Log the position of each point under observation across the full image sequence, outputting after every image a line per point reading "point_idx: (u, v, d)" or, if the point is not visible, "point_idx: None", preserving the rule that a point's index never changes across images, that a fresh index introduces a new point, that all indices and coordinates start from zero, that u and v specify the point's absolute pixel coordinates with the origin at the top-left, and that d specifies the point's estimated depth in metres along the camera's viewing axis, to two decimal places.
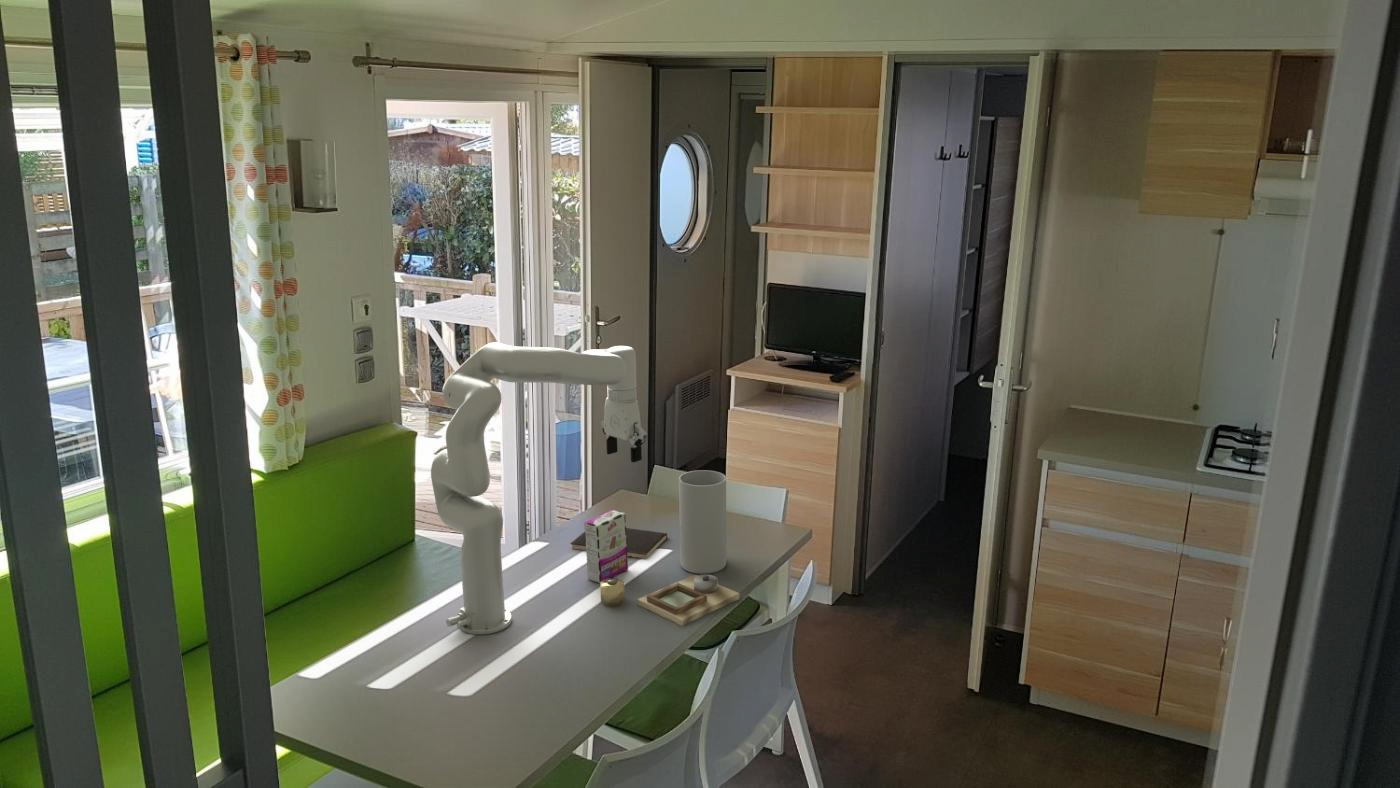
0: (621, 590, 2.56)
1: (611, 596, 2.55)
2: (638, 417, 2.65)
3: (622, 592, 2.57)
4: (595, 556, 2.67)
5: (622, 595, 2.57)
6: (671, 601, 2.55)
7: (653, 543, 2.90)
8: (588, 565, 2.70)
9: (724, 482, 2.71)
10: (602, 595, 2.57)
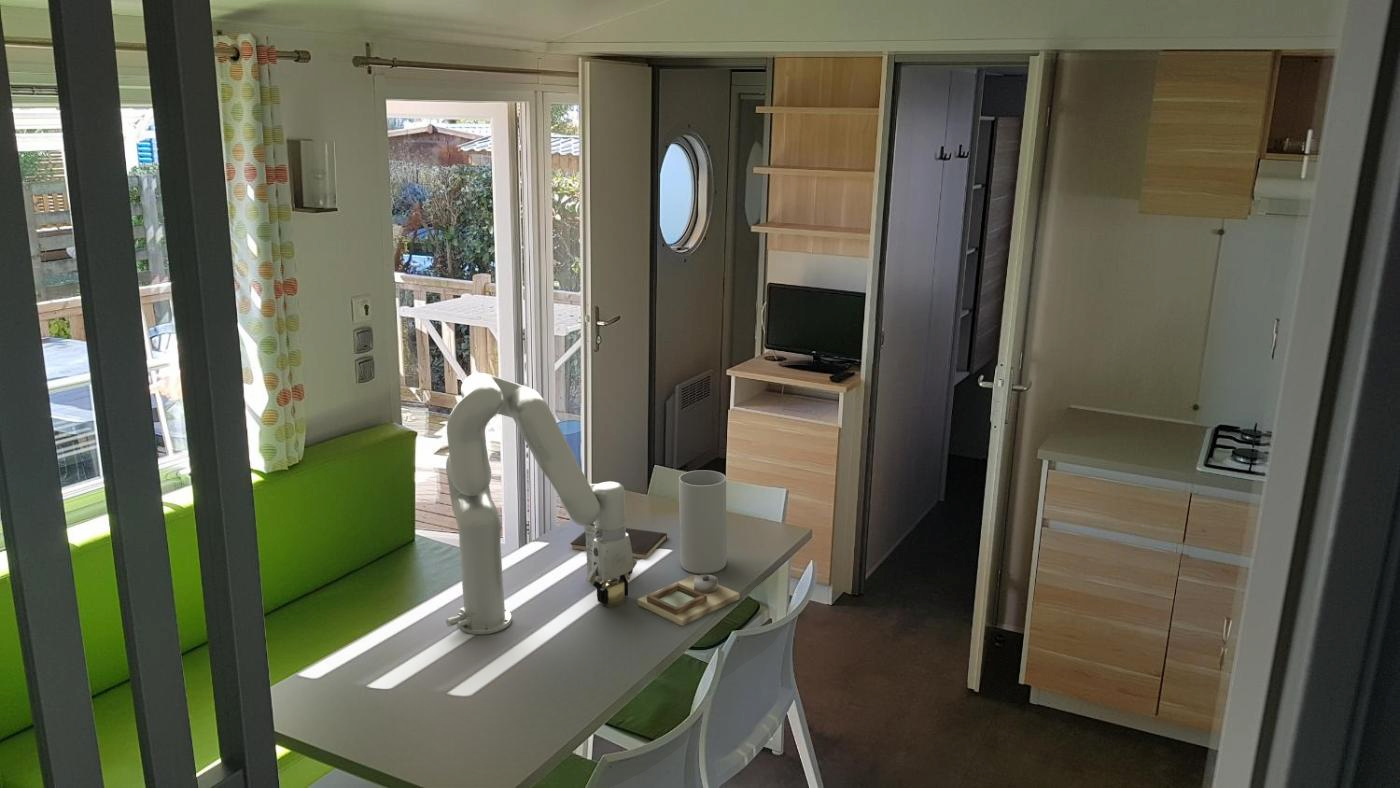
0: (621, 589, 2.56)
1: (611, 596, 2.55)
2: None
3: (622, 592, 2.57)
4: None
5: (622, 595, 2.57)
6: (671, 601, 2.55)
7: (653, 543, 2.90)
8: (588, 565, 2.70)
9: (724, 482, 2.71)
10: None
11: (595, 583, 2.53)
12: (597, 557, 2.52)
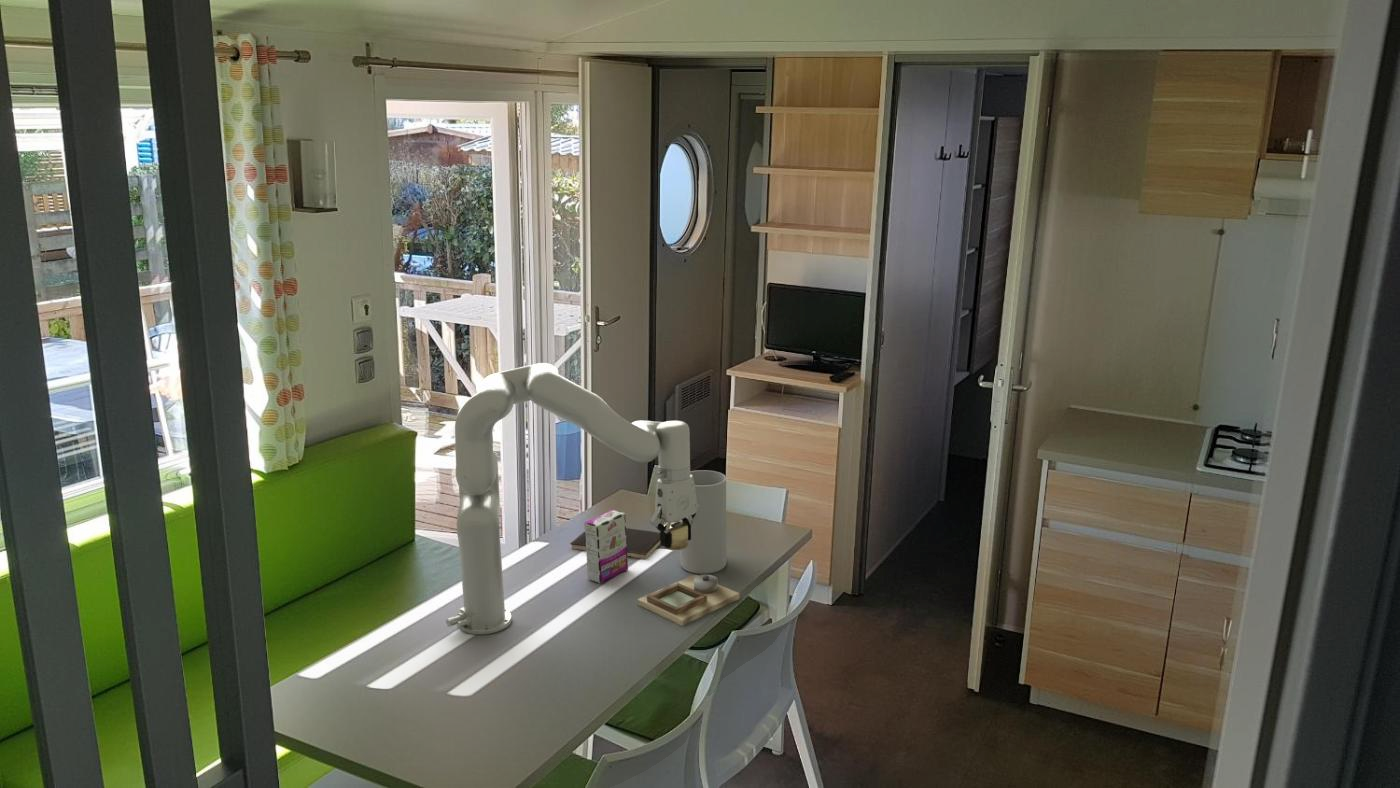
0: (685, 532, 2.49)
1: (675, 539, 2.48)
2: None
3: (686, 535, 2.49)
4: (595, 556, 2.67)
5: (686, 538, 2.49)
6: (671, 601, 2.55)
7: (653, 543, 2.90)
8: (588, 565, 2.70)
9: (724, 482, 2.71)
10: None
11: (659, 525, 2.45)
12: (661, 498, 2.44)
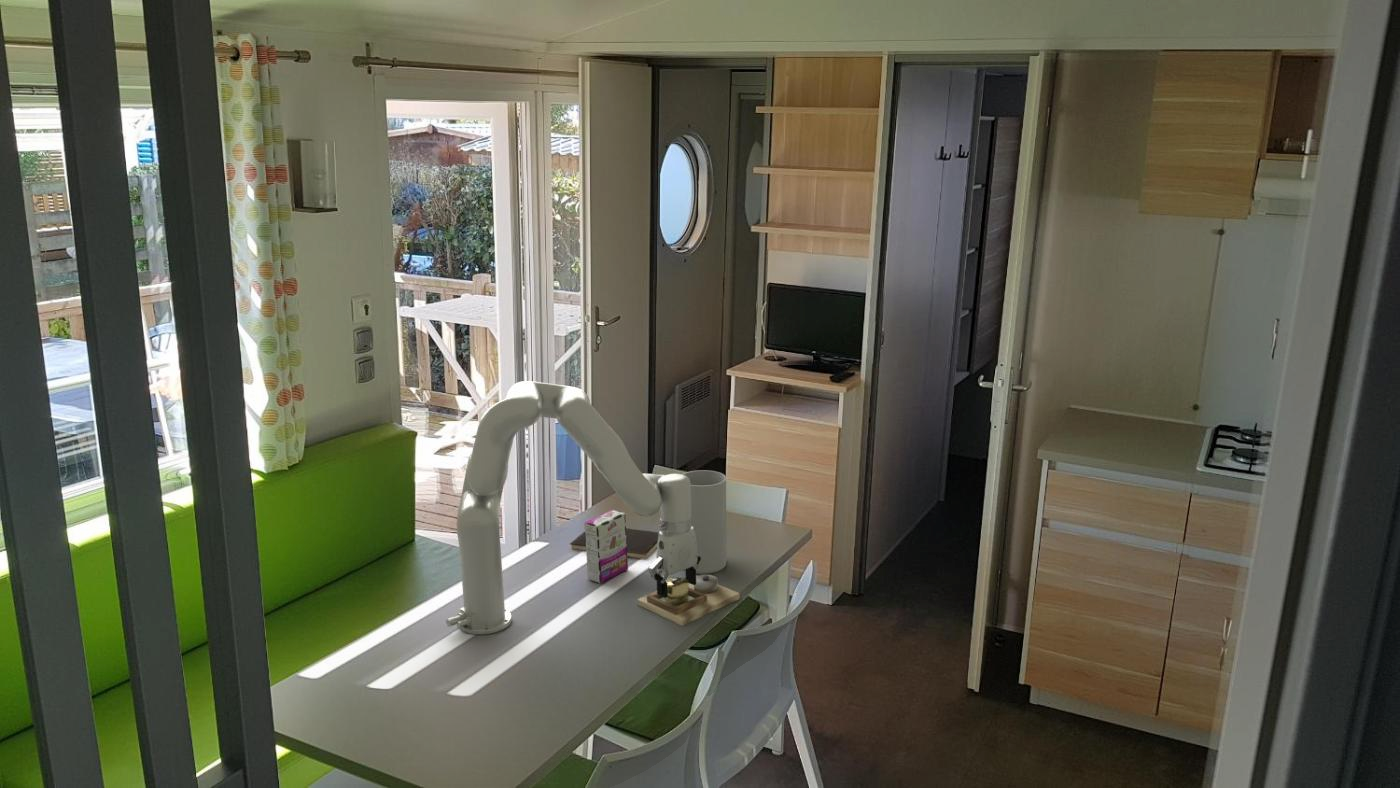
0: (686, 589, 2.52)
1: (676, 595, 2.51)
2: None
3: (686, 591, 2.53)
4: (595, 556, 2.67)
5: (686, 594, 2.53)
6: None
7: (653, 543, 2.90)
8: (588, 565, 2.70)
9: (724, 482, 2.71)
10: None
11: (656, 575, 2.47)
12: (663, 550, 2.47)
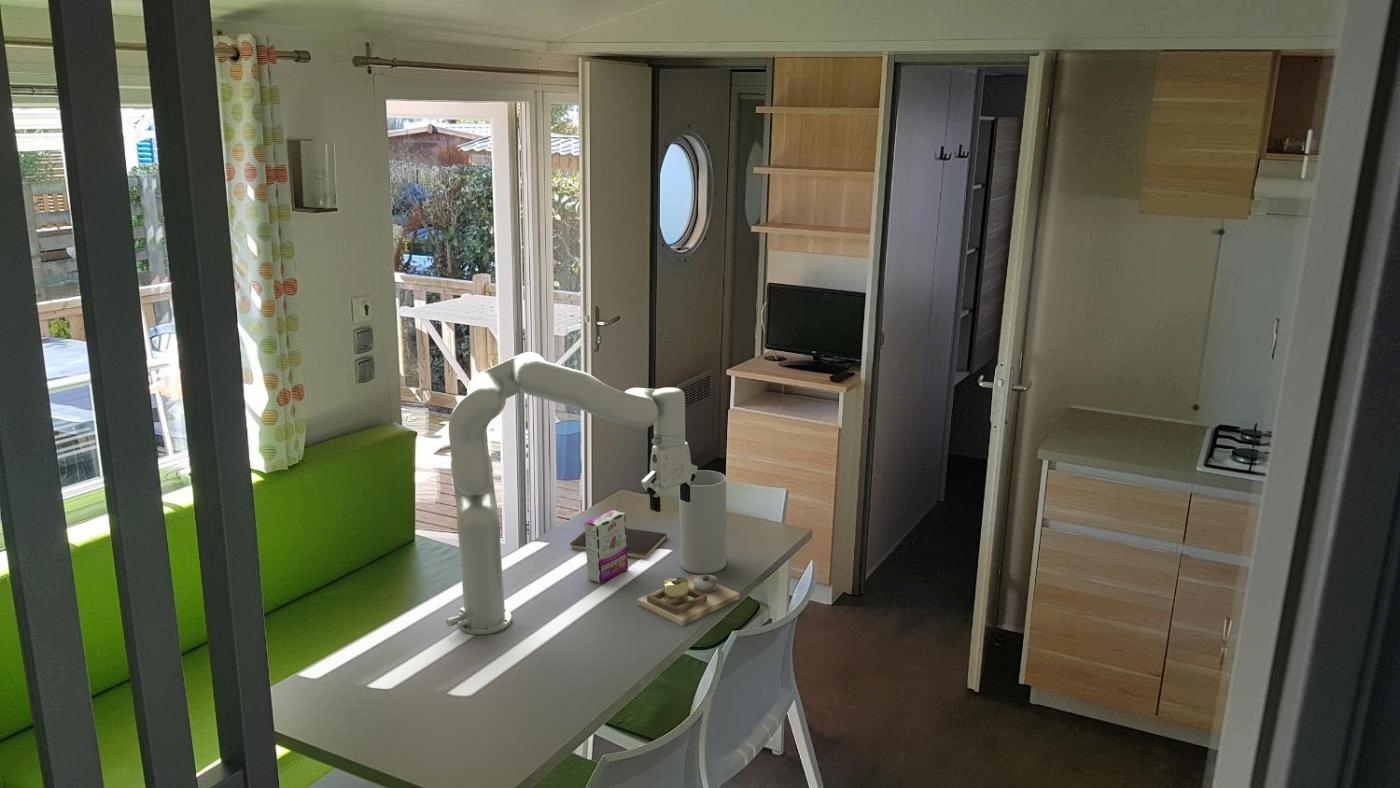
0: (686, 589, 2.52)
1: (676, 596, 2.51)
2: None
3: (686, 591, 2.53)
4: (595, 556, 2.67)
5: (686, 594, 2.53)
6: None
7: (652, 543, 2.90)
8: (588, 565, 2.70)
9: (724, 482, 2.71)
10: (666, 594, 2.53)
11: (649, 488, 2.46)
12: (656, 464, 2.46)
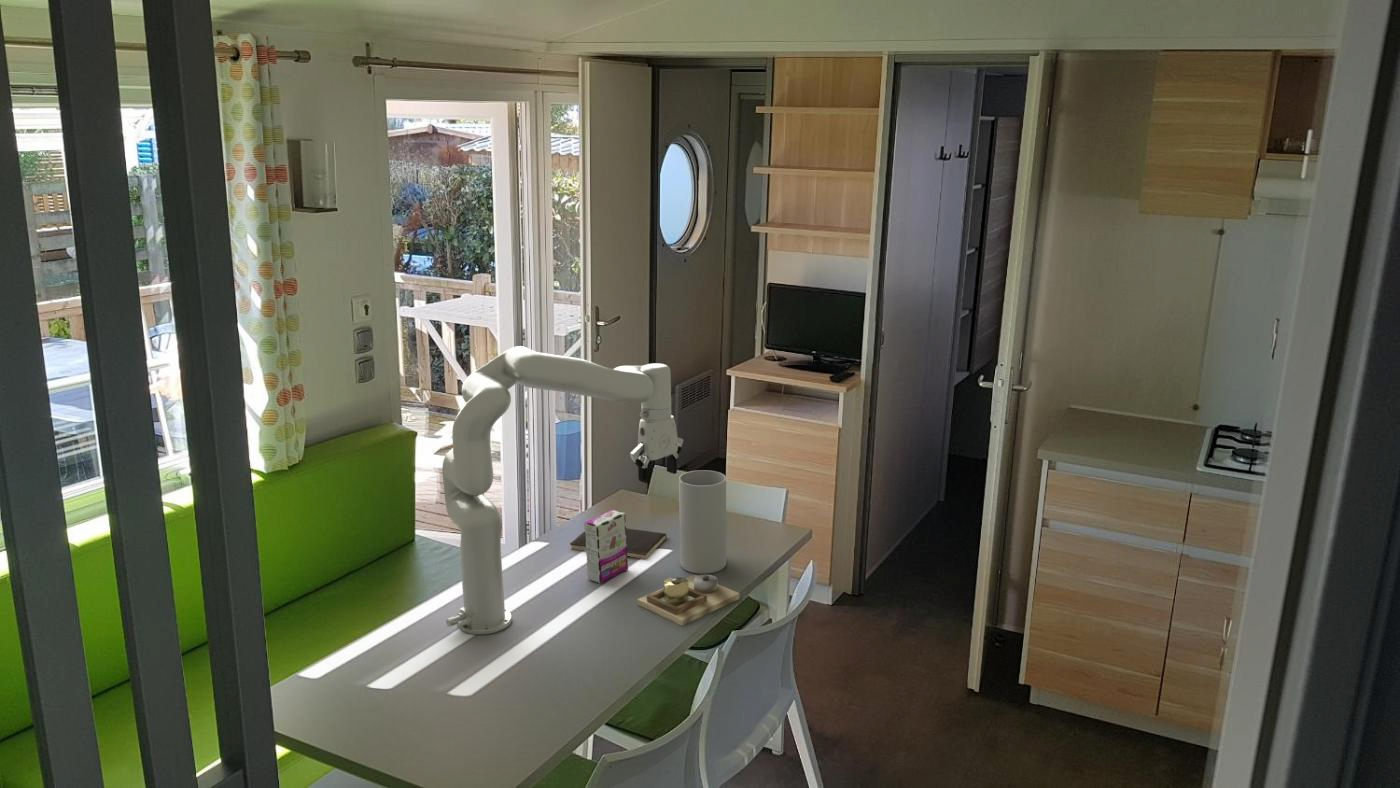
0: (686, 589, 2.52)
1: (676, 595, 2.51)
2: None
3: (686, 591, 2.53)
4: (595, 556, 2.67)
5: (686, 594, 2.53)
6: None
7: (652, 543, 2.90)
8: (588, 565, 2.70)
9: (724, 482, 2.71)
10: (666, 594, 2.53)
11: (637, 460, 2.57)
12: (644, 436, 2.57)
